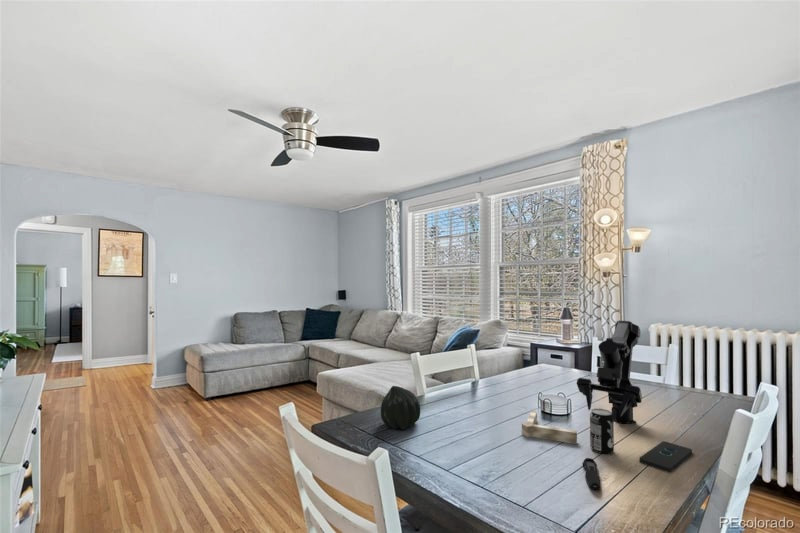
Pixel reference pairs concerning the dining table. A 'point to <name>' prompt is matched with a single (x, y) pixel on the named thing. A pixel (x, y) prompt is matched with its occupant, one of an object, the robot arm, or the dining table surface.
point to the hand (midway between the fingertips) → (604, 412)
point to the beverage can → (601, 431)
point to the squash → (400, 408)
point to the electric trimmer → (592, 474)
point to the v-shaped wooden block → (547, 431)
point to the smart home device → (666, 456)
